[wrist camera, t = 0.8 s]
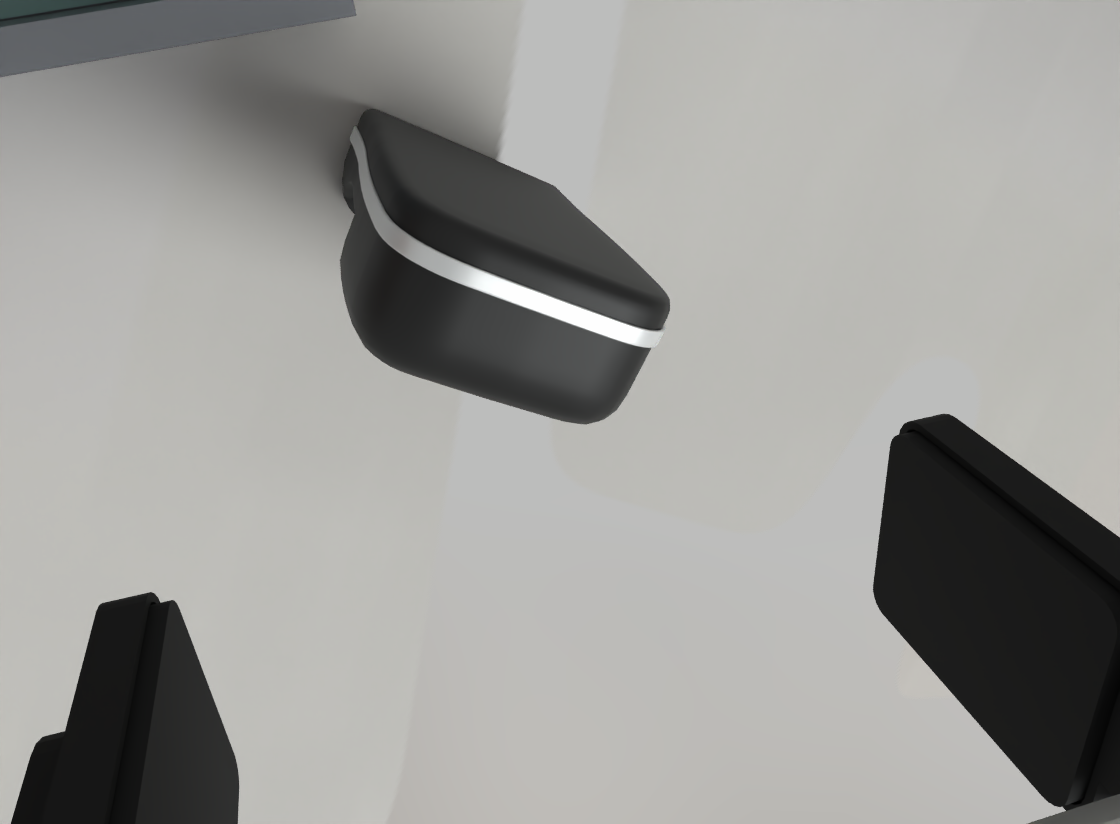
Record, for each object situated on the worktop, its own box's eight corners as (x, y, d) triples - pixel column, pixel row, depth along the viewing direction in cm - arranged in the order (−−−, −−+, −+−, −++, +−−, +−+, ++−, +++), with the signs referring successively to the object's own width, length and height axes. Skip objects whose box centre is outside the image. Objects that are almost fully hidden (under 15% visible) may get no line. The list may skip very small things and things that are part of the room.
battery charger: (313, 218, 28) (331, 380, 18) (356, 98, 26) (402, 202, 17) (516, 293, 30) (628, 467, 21) (564, 188, 29) (707, 321, 19)
